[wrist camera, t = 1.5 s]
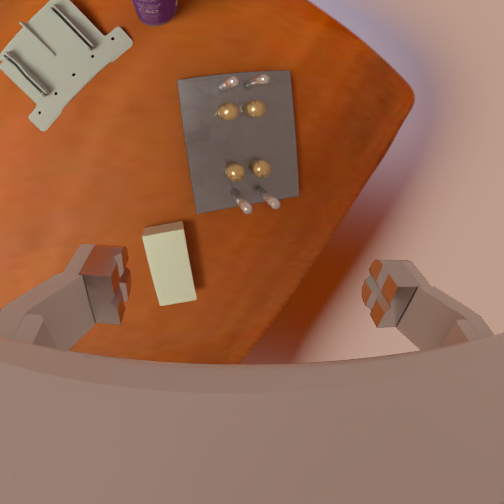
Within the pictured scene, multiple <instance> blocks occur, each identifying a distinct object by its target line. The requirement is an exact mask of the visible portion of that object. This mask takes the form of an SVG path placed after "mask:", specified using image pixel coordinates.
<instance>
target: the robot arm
mask: <svg viewBox="0 0 504 504" xmlns="http://www.w3.org/2000/svg"><path fill="white" fill-rule="evenodd" d="M127 261H128V252H127V248H126V247H123V246H109V245H95V244H81V245H80V246H79V247H78V249H77V251H76V252H75V254H74V255H73V257H72V259H71V260H70V262H69V263H68V265H67V267H66V268H65V270H64V272H63V273H58V274H56V275H54V276H53V277H51V278H49V279H48V280H46V281H44V282H43V283H41V284H39V285H38V286H36V287H34V288H33V289H31V290H29V291H28V292H26V293H25V294H23V295H21V296H20V297H18V298H17V299H15V300H13V301H12V302H10V303H9V304H7V305H6V306H4V307H3V308H2V310H1V311H0V504H504V333H501V334H497V335H494V334H493V333H492V331H491V330H490V328H489V327H488V325H487V324H486V323H485V321H484V320H483V319H482V317H481V316H480V315H478V314H477V313H475V312H474V311H472V310H470V309H469V308H467V307H466V306H464V305H462V304H461V303H459V302H458V301H456V300H455V299H453V298H452V297H450V296H449V295H447V294H445V293H444V292H442V291H440V290H439V289H437V288H436V287H431V285H430V284H429V283H428V281H427V280H426V279H425V278H424V276H423V275H422V274H421V273H420V271H419V270H418V269H417V268H416V266H415V265H414V264H413V263H412V262H411V261H408V260H374V261H373V263H372V264H371V266H370V269H369V271H370V274H371V275H370V276H369V277H368V278H367V279H365V281H364V284H363V287H362V299H363V302H364V303H365V306H367V307H368V308H370V309H371V313H370V315H371V317H372V319H373V321H374V323H375V325H376V327H377V328H381V327H396V328H397V329H398V330H399V331H401V333H403V334H404V335H405V336H406V337H407V338H408V339H409V340H410V341H411V342H412V343H413V344H414V345H416V346H417V347H418V348H419V349H420V351H415V352H408V353H401V354H394V355H387V356H378V357H370V358H361V359H350V360H339V361H327V362H311V363H293V364H253V365H252V364H251V365H250V364H249V365H247V364H246V365H236V364H193V363H173V362H158V361H146V360H135V359H126V358H117V357H109V356H101V355H94V354H87V353H80V352H74V351H68V350H69V349H70V348H71V347H72V346H73V345H74V344H76V343H77V342H78V341H79V340H80V339H81V338H82V337H83V336H84V335H85V334H86V333H87V332H88V331H89V330H90V329H91V328H92V327H93V326H94V325H95V323H105V324H118V325H121V322H122V319H123V315H124V312H125V306H124V302H125V301H127V300H128V298H129V294H130V287H131V275H130V270H129V269H128V268H127V267H126V264H127Z"/></svg>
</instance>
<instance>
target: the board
mask: <svg viewBox="0 0 504 504" xmlns="http://www.w3.org/2000/svg"><path fill="white" fill-rule="evenodd" d="M142 238H143V243H144V247H145V251H146V255H147V259H148V263H149V267H150V271H151V275H152V279H153V283H154V286H155V290H156V294H157V297H158V301H159V304H160V306H164V305H170V304H176V303H181V302H187V301H193V300H197V297H196V291H195V286H194V281H193V275H192V270H191V265H190V260H189V254H188V249H187V243H186V237H185V232H184V226H183V221H180V222H174V223H168V224H163V225H157V226H152V227H146V228H144V230H143V235H142Z"/></svg>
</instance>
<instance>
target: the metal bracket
mask: <svg viewBox="0 0 504 504" xmlns="http://www.w3.org/2000/svg"><path fill="white" fill-rule="evenodd" d="M19 23H20V24H21V25H22V26H23V28H22V29H21V30H20V31H19V32H18V33H17V34H16V36H15V37H14V38H13V39H12V40H11V41H10V42H9V44H8V45H7V46H6V47H5V48H4V50H3V51H2V52H1V53H0V60H2V64H0V69H1V70H2V71H3V72H4V73H5V74H6V75H7V76H8V77H9V78H10V79H11V80H12V81H13V82H14V83H15V84H16V85H17V86H19V87H20V88H21V89H22V90H23V91H24V92H25V93H26V94H27V95H28V96H29V97H30V98H31V99H32V100H33V101H34V102H35V103H36V104H37V106H36V108H35V109H34V110H33V112H32V113H31V114H30V115H29V120H30V121H31V122H32V123H33V124H34V125H35V126H37V127H38V128H39V129H40V130H41V131H46V130H47V129H48V128H49V127H50V125H51V124H52V123H53V122H54V121H55V120H56V118H57V117H58V116H59V115H60V114H61V113H62V109H63V108H64V107H65V106H66V105H67V104H68V103H69V102H70V101H71V99H72V98H73V97H74V96H75V95H76V94H77V93H78V92H79V91H80V90H81V89H82V88H83V87H84V86H85V85H86V84H87V83H88V82H89V81H90V80H91V79H92V78H93V77H94V76H95V75H96V74H97V73H98V72H100V71H101V70H102V69H103V68H104V67H105V66H106V65H107V64H108V63H109V62H113V61H114V60H116V59H117V58H118V57H119V56H120V55H121V54H123V53H124V52H125V51H126V50H127V49H129V48H130V47H131V46H132V44H133V41H132V40H131V38H130V37H129V36H128V35H127V34H126V33H125V32H124V31H123V30H122V29H121V28H120V27H116V28H115V29H114V30H112V31H111V32H110V33H109V34H108V35H106V36H104V35H103V34H102V33H101V32H100V31H99V30H98V29H97V28H96V27H95V26H94V25H93V24H92V23H91V22H90V21H89V20H88V19H87V18H86V16H85V15H84V14H83V13H82V12H81V11H80V10H79V9H78V8H77V7H76V6H75V5H74V4H73V3H72V2H71V1H70V0H60V1H59V0H50V1H49V2H48V3H47V4H46V5H45V6H44V7H43V8H42V9H40V10H39V11H38V12H37V13H36V14H35V15H34V16H33V17H32V18H31V19H30V20H29V22H28V23H23V22H21V21H20V22H19ZM112 37H114V40H111V38H112ZM92 55H94V58H91V56H92ZM73 73H75V76H72V74H73ZM55 92H57V95H55ZM39 111H41V114H39Z"/></svg>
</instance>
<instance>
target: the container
mask: <svg viewBox="0 0 504 504" xmlns="http://www.w3.org/2000/svg"><path fill="white" fill-rule="evenodd" d="M132 1H133V3H134V6H135V9H136V12H137V15H138V17H139V19H140V21H141V22H142V23H144V24H146V25H149V26H160V25H163V24H165V23H167V22H169V21H170V20H171V19H172V18H173V17H174V16H175V14H176V11H177V2H178V0H132Z"/></svg>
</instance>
